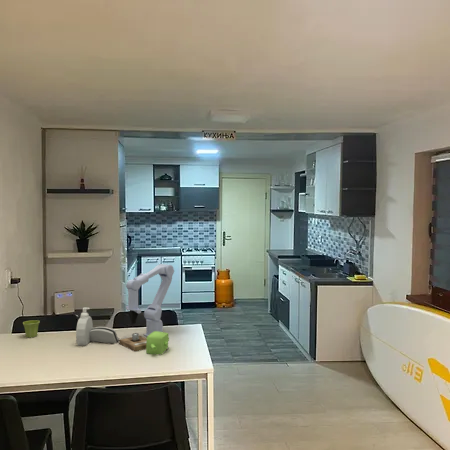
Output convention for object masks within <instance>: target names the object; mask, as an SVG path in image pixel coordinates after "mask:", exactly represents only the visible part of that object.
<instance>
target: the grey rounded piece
mask: <svg viewBox="0 0 450 450" xmlns="http://www.w3.org/2000/svg"><path fill="white" fill-rule="evenodd" d="M119 340H120V338H119V337H118V334H117V331H116V330H115V329H114V328H112V327H111V328H110V327H107V326H96V327H93V329H92V330H91V331H90V342H94V343H106V344H117V343H118V342H119Z"/></svg>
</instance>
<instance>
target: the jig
mask: <svg viewBox="0 0 450 450" xmlns="http://www.w3.org/2000/svg"><path fill="white" fill-rule="evenodd" d="M146 342H147V337H144V336H142V335H139V341H137V342H133V341H132V336H130V337H126V338H121V339H120V338H119V341H118V343H119V345H121V346H122V347H125V348H127V349H129V350H131V351H133V352H139V350H140V351H144V350H146ZM143 349H144V350H143Z"/></svg>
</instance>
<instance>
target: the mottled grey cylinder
mask: <svg viewBox="0 0 450 450" xmlns="http://www.w3.org/2000/svg"><path fill="white" fill-rule="evenodd" d="M131 337H132V341H133V342H137V341H139V333H137V332H135V333H132V334H131Z"/></svg>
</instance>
